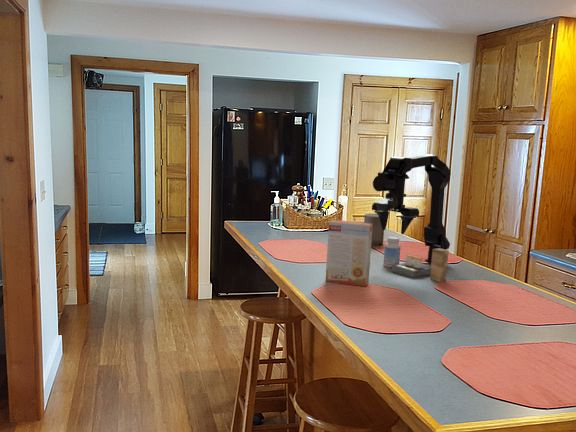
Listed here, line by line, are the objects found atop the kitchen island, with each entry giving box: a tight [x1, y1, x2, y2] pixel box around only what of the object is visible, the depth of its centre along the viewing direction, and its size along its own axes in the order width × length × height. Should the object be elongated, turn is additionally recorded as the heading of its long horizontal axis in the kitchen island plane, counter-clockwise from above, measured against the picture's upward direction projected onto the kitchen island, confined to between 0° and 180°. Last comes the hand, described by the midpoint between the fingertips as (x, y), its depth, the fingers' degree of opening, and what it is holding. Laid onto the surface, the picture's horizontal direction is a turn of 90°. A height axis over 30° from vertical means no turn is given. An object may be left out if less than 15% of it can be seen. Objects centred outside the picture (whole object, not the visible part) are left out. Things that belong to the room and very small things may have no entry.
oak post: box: [429, 248, 450, 283], centre depth 189 cm, size 4×4×11 cm
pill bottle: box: [382, 236, 401, 268], centre depth 206 cm, size 6×6×11 cm
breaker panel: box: [391, 262, 431, 279], centre depth 197 cm, size 12×10×3 cm
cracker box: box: [325, 219, 373, 287], centre depth 178 cm, size 14×6×21 cm, turn 71°
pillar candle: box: [363, 213, 385, 246], centre depth 249 cm, size 10×10×15 cm
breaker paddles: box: [404, 254, 424, 268], centre depth 196 cm, size 2×7×4 cm, turn 38°
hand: (393, 231), depth 198 cm, fingers open, 9 cm apart
